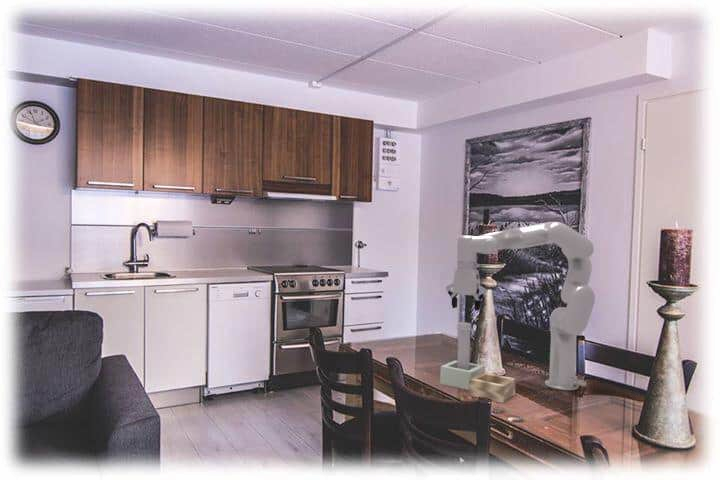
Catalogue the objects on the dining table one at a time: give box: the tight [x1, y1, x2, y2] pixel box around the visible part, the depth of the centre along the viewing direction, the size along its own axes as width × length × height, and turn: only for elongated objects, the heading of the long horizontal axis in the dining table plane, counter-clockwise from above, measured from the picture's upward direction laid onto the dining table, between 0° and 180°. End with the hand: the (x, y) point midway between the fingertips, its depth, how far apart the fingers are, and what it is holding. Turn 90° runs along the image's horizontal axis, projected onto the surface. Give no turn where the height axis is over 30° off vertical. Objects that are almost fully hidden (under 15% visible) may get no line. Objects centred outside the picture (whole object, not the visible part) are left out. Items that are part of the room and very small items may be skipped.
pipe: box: [455, 307, 473, 370], centre depth 212 cm, size 6×6×30 cm
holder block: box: [439, 359, 486, 391], centre depth 212 cm, size 13×13×7 cm
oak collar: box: [468, 371, 517, 404], centre depth 199 cm, size 13×13×6 cm
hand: (465, 309), depth 212 cm, fingers open, 9 cm apart
